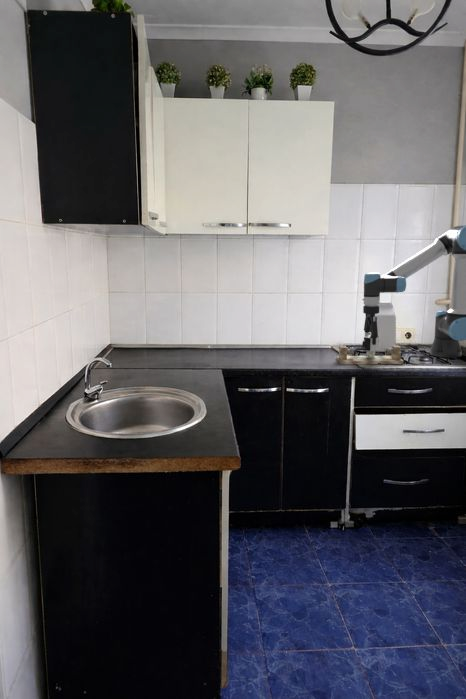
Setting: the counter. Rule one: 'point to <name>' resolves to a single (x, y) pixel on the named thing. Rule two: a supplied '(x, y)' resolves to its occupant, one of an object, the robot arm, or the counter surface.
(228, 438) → the counter surface
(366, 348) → the pneumatic valve
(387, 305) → the milk
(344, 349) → the pipe stand
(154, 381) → the counter surface
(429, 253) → the robot arm
